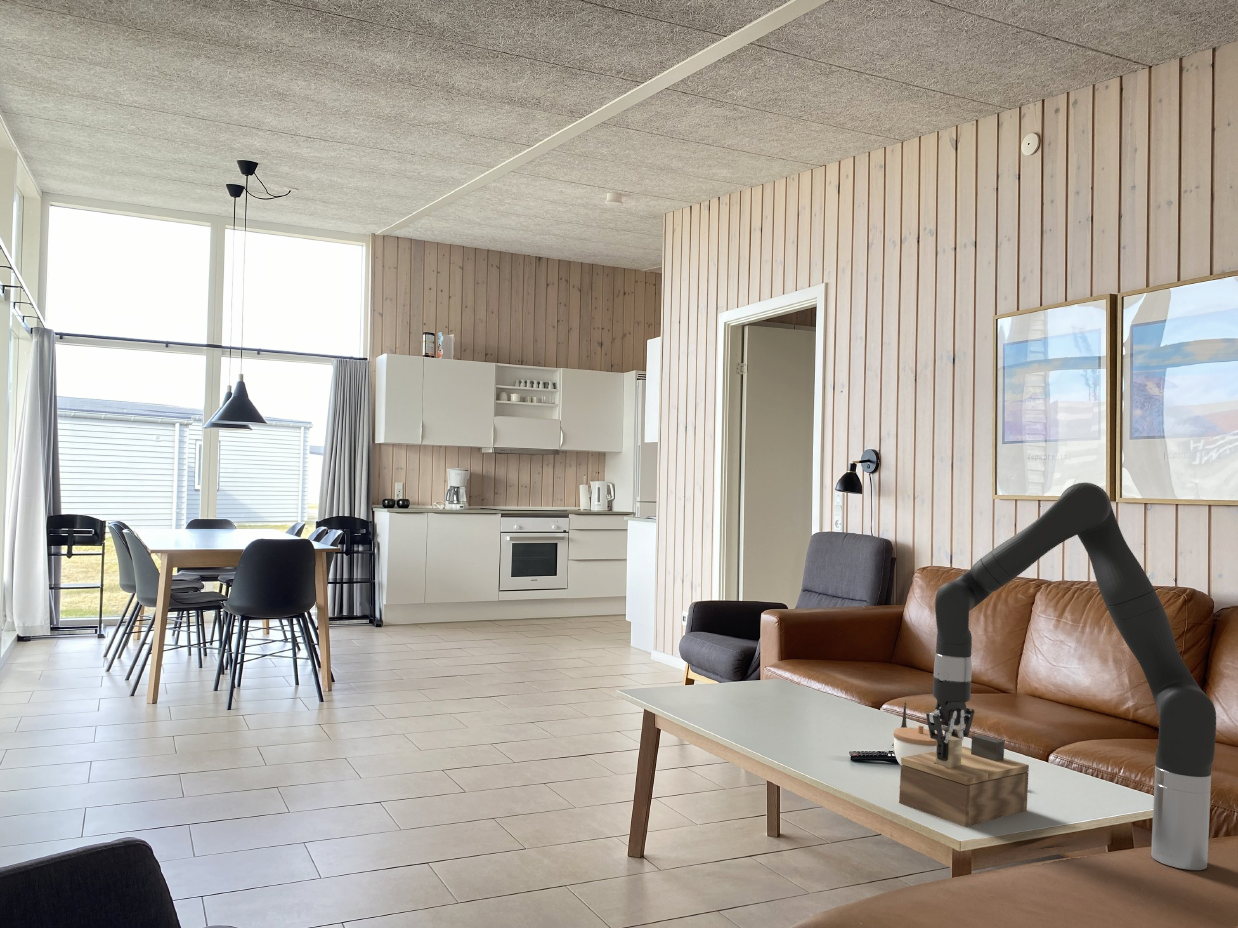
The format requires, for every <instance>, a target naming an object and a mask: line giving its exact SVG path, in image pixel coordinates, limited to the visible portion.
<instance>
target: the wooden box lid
mask: <svg viewBox="0 0 1238 928" xmlns="http://www.w3.org/2000/svg"><path fill="white" fill-rule="evenodd" d="M970 747H971V748H970ZM970 747H967V746H963V745H962V754H961V767H956V768H951V769H950V768H947V767H944V766H940V765H937V764H936V751H935V752H930V753H924V754H918V755H913V756H907V757H902V758H901V764H902V765H905V766H908V767H912V768H915V769H918V770H921V771H924V772H927V773H930V774H933V775H937V776H940V777H943V778H946V779H949V780H952V781H955V782H959V783H962V784H965V785H969V784H974V783H979V782H983V781H988V780H992V779H997V778H1002V777H1006V776H1011V775H1015V774H1020V773H1025V772H1028V773H1029V772H1030V771H1029V770H1030V765H1029V764H1026V763H1024V762H1019V761H1016V760H1013V759H1009V758H1006V757H1005V740H1001V739H998V738H995V737H991V736H986V735H983V734H975V735H971V746H970Z"/></svg>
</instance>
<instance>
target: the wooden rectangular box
mask: <svg viewBox="0 0 1238 928" xmlns="http://www.w3.org/2000/svg"><path fill="white" fill-rule="evenodd" d="M899 778H900V779H899V794H898V795H899V797H898V798H899V800H898V803H899V804H900V805H903V806H906V807H909V808H911V809H914V810H917V811H919V812H923V813H926V814H928V815H931V816H934V817H936V818H939V819H943V820H946V821H948V822H951V823H953V824H956V825H958V826H962V827H968V826H969V827H970V826H973V825H976V824H980V823H984V822H989V821H992V820H996V819H1001V818H1004V817H1007V816H1011V815H1012V816H1013V815H1016V814H1019V813H1022V812H1027V811H1028V795H1029V793H1028V792H1029V789H1028V788H1029V772H1025V773H1020V774H1015V775H1011V776H1006V777H1002V778H997V779H992V780H988V781H983V782H979V783H974V784H969V785H965V784H962V783H959V782H955V781H952V780H949V779H946V778H943V777H940V776H937V775H933V774H930V773H927V772H924V771H921V770H918V769H915V768H912V767H908V766H905V765H900V777H899Z"/></svg>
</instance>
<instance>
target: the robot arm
mask: <svg viewBox="0 0 1238 928" xmlns="http://www.w3.org/2000/svg"><path fill="white" fill-rule="evenodd" d="M1074 536H1077V537H1078V539H1079V540H1080V542H1081V544H1082V545H1083V547H1084V549H1085V551H1086V553H1087V555H1088V557H1089V558H1088V559H1089V561H1090V564H1091V566H1092V570H1093V573H1094V577H1095V581H1096V583H1097V586H1098V589H1099V592H1100V595H1101V597H1102V600H1103V602H1104V605H1105V607H1106V609H1107V611H1108V613H1109V615H1110V617H1111V619H1112V622H1113V623H1114V626H1115V627H1116V629H1117V631H1118V632H1119V633H1120V635H1121V637H1122V639H1123V640H1124V642H1125V644H1126V645H1127V647H1128V648H1129V650H1130V651H1131V653H1132V654H1133V656H1134V657H1135V659H1136V660H1137V662H1138V664H1139V665H1140V668H1141V670H1142V672H1143V673H1144V676H1145V679H1146V682H1147V684H1148V686H1149V687H1148V688H1149V690H1150V692H1151V695H1152V699H1153V701H1154V704H1155V708H1156V711H1157V713H1158V714H1157V715H1158V716H1159V722H1158V739H1157V740H1158V742H1157V748H1156V751H1155V761H1154V763H1155V764H1154V784H1153V785H1154V786H1153V787H1154V788H1153V789H1154V790H1153V804H1152V806H1153V808H1152V827H1151V828H1152V829H1151V830H1152V831H1151V832H1152V833H1151V855H1150V856H1151V857H1152V859H1153V860H1155V861H1157V862H1159V863H1161V864H1163V865H1166V866H1170V867H1174V868H1177V869H1183V870H1188V871H1203V870H1206V869H1207V867H1208V852H1209V851H1208V850H1209V831H1210V814H1211V813H1210V809H1211V786H1212V785H1211V784H1212V781H1211V780H1212V767H1213V762H1214V760H1215V750H1216V749H1215V748H1216V734H1217V711H1216V707H1215V704H1214V702H1213V701H1212V700H1211V699H1210V697H1209V696H1208V695H1207V694H1206V693H1205V692H1204V691H1203V690H1202V688H1201V687H1200V685H1199V683H1197V681H1196V680H1195V679H1194V677H1193V675H1192V673H1191V672H1190V670H1189V668H1188V667H1187V665H1186V664H1185V662H1184V660H1183V658H1182V656H1181V654H1180V652H1179V650H1178V647H1177V644H1176V640H1175V637H1174V633H1173V630H1172V627H1171V624H1170V621H1169V618H1168V615H1167V613H1166V611H1165V608H1164V605H1163V604H1162V601H1161V600H1160V597H1159V595H1158V594H1157V592H1156V590H1155V588H1154V586H1153V583H1151V581H1150V579H1149V577H1148V575H1147V574H1146V572H1145V570H1144V569H1143V567H1142V565H1141V564H1140V562H1139V561H1138V559H1137V557H1136V556H1135V555H1134V553H1133V552H1132V550H1131V548H1130V547H1129V545H1128V544H1127V541H1126V540H1125V538H1124V536H1123V534H1122V531H1121V527H1120V526H1119V524H1118V520H1117V518H1116V515H1115V512H1114V509H1113V506H1112V503H1111V500H1110V497H1109V495H1108V493H1107V492H1106V491H1105V490H1104V489H1103V488H1102V487H1101V486H1099V485H1097V484H1095V483H1092V482H1078V483H1074V484H1073V485H1070V486H1068V487H1067V488H1066V489H1064V491H1062V493H1061V495H1060V496H1059V498H1058V499H1057V500H1056V501H1055V502H1053V504H1052V505H1050V507H1049V508H1048V509H1047V510H1046V511H1045V512H1044V513H1043V514H1041V516H1040V517H1039V518H1037V519H1036V520H1035V521H1033V522H1032V523H1031V524H1029V525H1028V526H1027V527H1025V528H1024V529H1022V530H1021V531H1019V532H1018V533H1016V534H1015V535H1013V536H1012V537H1010V538H1008V539H1007V540H1004V541H1003V542H1002V543H1000V544H999V545H997V546H996V547H995V548H993V549H992V550H990V551H989V552H988V553H985V555H984V556H982V557H981V558H980V559H978V560H977V561H976V562H975V563H974V564H973V565H972V566H971V568H970V569H969V570H967V571H965V572H964V573H963V574H961V575H960V576H958V577H957V578H955V579H953V580H952V581H949V582H945V583H944V584H942V585H941V586H940V587H939V588H938V590H937V591H936V595H935V601H934V608H935V609H934V610H935V611H934V612H935V613H934V614H935V620H936V621H935V622H936V629H937V631H936V632H937V634H936V641H935V642H936V644H935V645H936V646H935V657H934V664H933V679H932V681H933V684H932V696H933V698H935V700H936V704H935V707H934V710H933V711H932V712H931V711H930V712H929V711H927V712H926V714H925V717H926V722H927V727H928V728H927V729H928V730H929V733H930V738H931V739H935V740H936V741H937V758H938V759H939V760H942V761H947V760H948V747H949V743H948V742H949V736H953V737H957V738H960V739H962V741H963V740H964V737H966V738H967V737H968V736H969V734H970V731H971V727H972V723H973V719H974V716H975V709H974V708H969V707H967V702H970V700H971V697H972V696H971V694H972V674H973V673H972V672H973V671H972V670H973V666H972V649H973V648H972V645H973V644H972V643H973V640H972V639H973V637H972V631H970V628H969V626H970V623H969V622H970V611H972V610H973V609H975V608H976V607H977V606H978V605H980V604H981V603H982V602H983V601H985V599H986V598H988V597H989V596H990V595H991V594H993V593H994V592H996V591H997V590H1000V589H1001V588H1003V587H1004V586H1006V585H1007V584H1008V583H1010V582H1011V581H1012V580H1015V578H1017V577H1018V576H1020V575H1021V574H1023V572H1025V571H1026V570H1028V568H1030V567H1031V566H1032V565H1034V564H1035V563H1036V562H1037V561H1038V560H1040V559H1041V558H1042V557H1043V556H1045V555H1046V554H1047V553H1049V552H1050V551H1052V549H1055V547H1057V546H1059V545H1060V544H1063V542H1066V541H1067V540H1070V539H1071V538H1073V537H1074ZM945 726H946V727H945ZM935 731H937V732H936V733H935ZM943 731H944V733H943ZM943 734H944V736H943Z"/></svg>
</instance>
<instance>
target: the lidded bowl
mask: <svg viewBox="0 0 1238 928" xmlns="http://www.w3.org/2000/svg"><path fill="white" fill-rule="evenodd" d="M924 726H925V725H922V724H921V725H918V726H917V727H907V728H900V727H898V728H896V729H894V730H893V743H894V747H893V751H894V752H893V753H894V755H895V759H896V760H897V762H898V764H899V765H900V766H901V765H902V764H901V758H902V757H907V756H913V755H918V754H924V753H930V752H935V751H936V746H937V741H936V740H935V739H931V738H930V733H929V728H924ZM936 732H937V731H935V733H936ZM944 734H945V733H943V736H944Z"/></svg>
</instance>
